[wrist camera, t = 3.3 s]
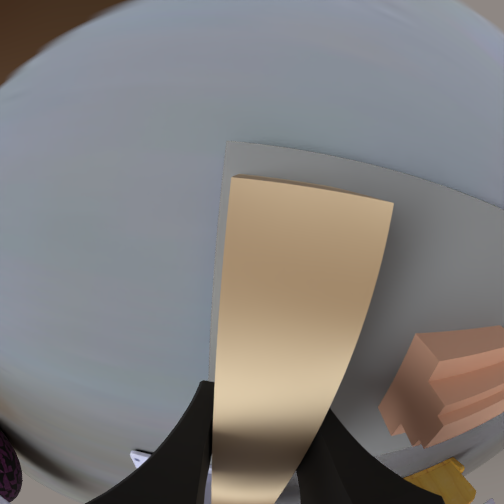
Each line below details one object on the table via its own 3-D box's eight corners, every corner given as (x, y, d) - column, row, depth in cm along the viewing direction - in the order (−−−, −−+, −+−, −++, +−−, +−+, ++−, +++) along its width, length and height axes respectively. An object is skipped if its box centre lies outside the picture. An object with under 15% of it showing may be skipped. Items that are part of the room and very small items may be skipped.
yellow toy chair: (369, 500, 21) (382, 548, 12) (398, 473, 18) (420, 531, 10) (428, 479, 22) (445, 519, 13) (460, 446, 19) (485, 492, 10)
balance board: (443, 425, 15) (467, 467, 10) (208, 450, 14) (202, 519, 9) (534, 227, 10) (589, 251, 5) (228, 144, 9) (204, 111, 4)
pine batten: (263, 462, 13) (266, 513, 9) (215, 459, 13) (211, 511, 9) (331, 186, 8) (394, 203, 4) (238, 173, 8) (231, 176, 4)
